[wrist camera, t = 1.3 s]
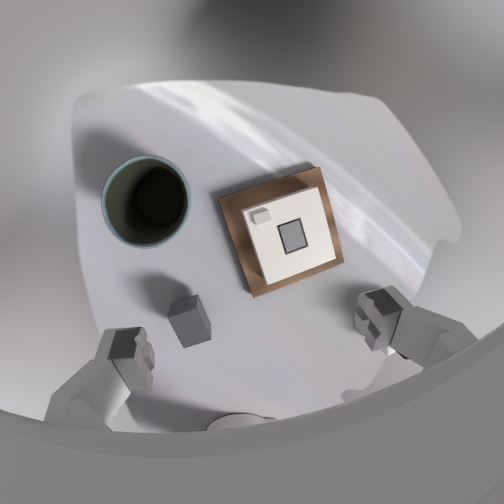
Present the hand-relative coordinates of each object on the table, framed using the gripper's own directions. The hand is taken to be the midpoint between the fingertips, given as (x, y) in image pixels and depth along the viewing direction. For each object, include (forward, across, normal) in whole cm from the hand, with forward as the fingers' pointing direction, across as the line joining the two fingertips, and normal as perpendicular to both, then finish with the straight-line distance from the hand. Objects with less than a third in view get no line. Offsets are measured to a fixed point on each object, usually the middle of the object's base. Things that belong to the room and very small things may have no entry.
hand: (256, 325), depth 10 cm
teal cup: (+32, -8, -3) cm, 33 cm away
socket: (+29, +9, -9) cm, 32 cm away
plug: (+28, -7, -20) cm, 35 cm away
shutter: (+26, +10, -9) cm, 29 cm away
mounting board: (+30, +9, -10) cm, 33 cm away
